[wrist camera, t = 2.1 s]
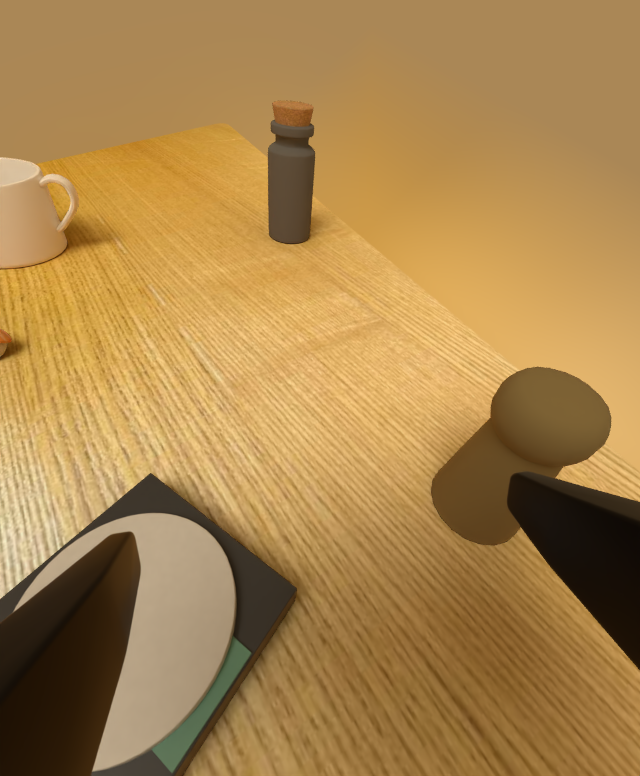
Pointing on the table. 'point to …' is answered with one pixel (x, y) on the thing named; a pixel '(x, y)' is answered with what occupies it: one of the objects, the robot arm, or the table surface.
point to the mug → (30, 214)
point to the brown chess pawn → (518, 449)
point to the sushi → (4, 341)
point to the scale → (174, 627)
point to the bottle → (290, 172)
